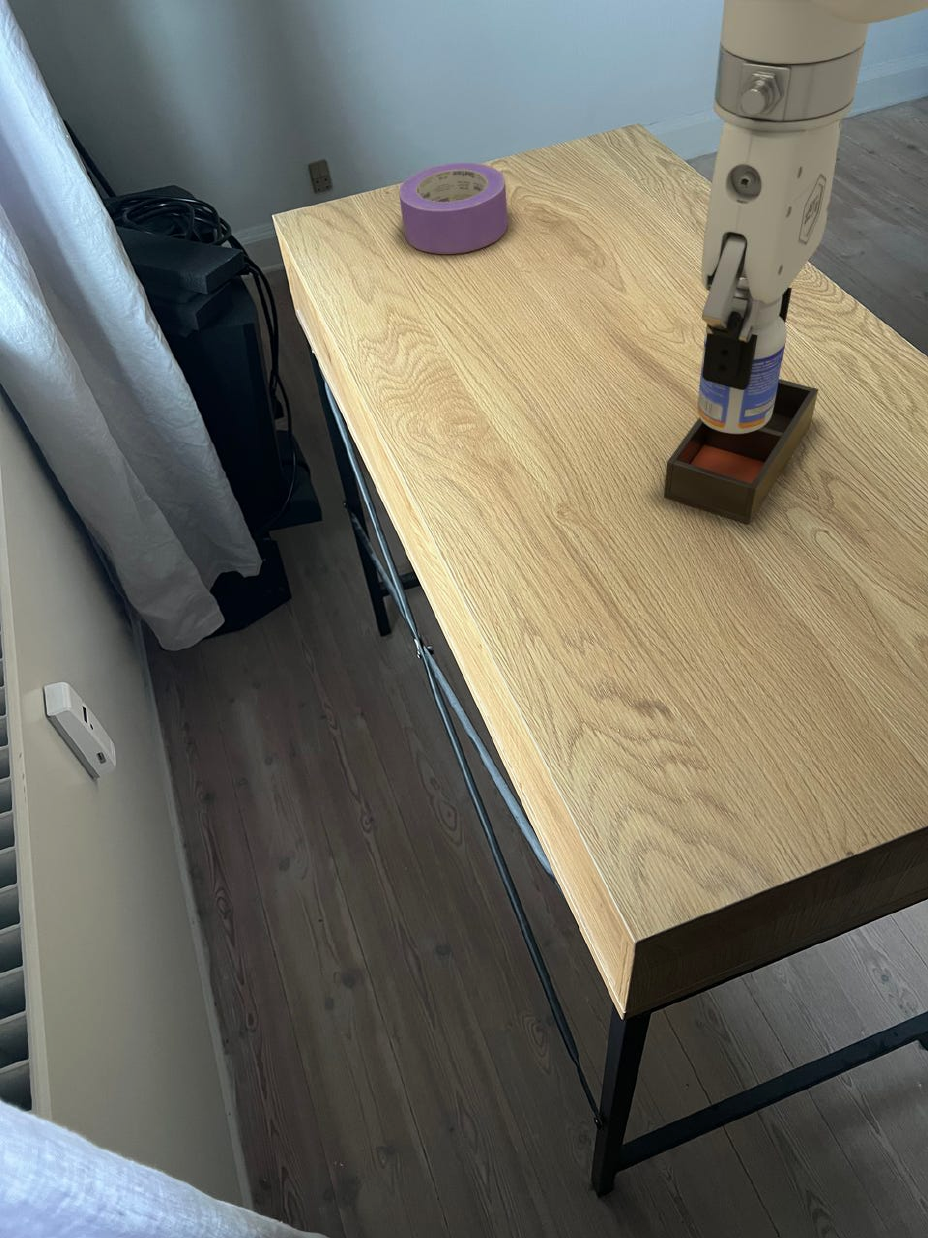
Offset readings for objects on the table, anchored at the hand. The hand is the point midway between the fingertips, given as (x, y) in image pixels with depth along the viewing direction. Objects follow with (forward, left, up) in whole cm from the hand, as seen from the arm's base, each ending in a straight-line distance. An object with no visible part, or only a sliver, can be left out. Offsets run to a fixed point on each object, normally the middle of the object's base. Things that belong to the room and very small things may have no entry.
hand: (742, 356), depth 65 cm
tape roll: (+43, -27, -12) cm, 52 cm away
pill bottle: (0, 0, -5) cm, 5 cm away
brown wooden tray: (0, -3, -12) cm, 12 cm away
